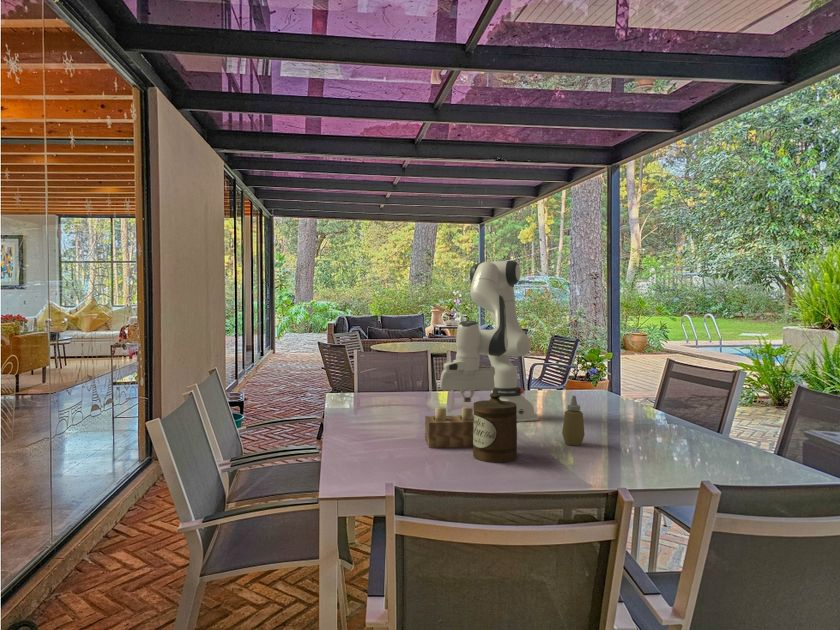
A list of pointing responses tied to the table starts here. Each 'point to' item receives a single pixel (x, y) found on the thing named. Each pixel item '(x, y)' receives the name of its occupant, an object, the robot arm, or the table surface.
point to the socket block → (449, 432)
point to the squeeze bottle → (573, 424)
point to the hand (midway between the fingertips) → (466, 402)
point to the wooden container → (495, 430)
